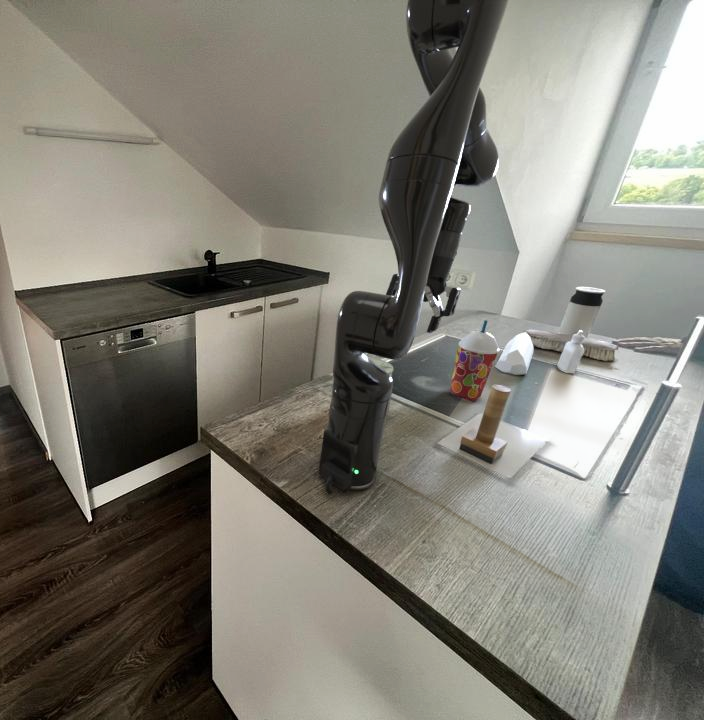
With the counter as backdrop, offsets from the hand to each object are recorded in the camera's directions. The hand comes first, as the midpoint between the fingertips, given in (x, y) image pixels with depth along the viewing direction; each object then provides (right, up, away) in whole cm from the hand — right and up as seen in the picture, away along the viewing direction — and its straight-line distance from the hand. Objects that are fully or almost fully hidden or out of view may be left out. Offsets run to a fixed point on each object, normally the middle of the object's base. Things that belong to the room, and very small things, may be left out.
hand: (410, 326), depth 87 cm
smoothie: (+19, -17, +11) cm, 27 cm away
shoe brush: (+69, -5, +39) cm, 80 cm away
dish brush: (+8, -25, -12) cm, 29 cm away
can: (-9, -19, +5) cm, 22 cm away
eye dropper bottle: (+58, -11, +26) cm, 64 cm away
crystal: (+46, -8, +30) cm, 56 cm away
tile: (+13, -25, -8) cm, 29 cm away
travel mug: (+80, -1, +49) cm, 94 cm away
